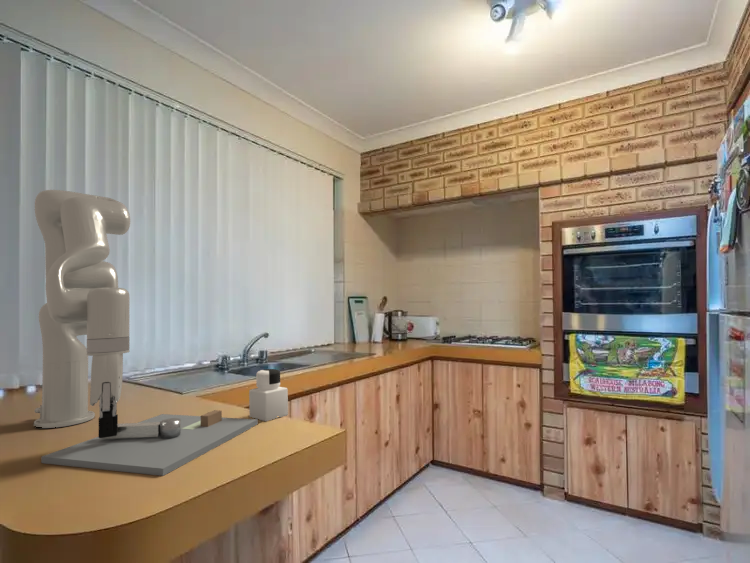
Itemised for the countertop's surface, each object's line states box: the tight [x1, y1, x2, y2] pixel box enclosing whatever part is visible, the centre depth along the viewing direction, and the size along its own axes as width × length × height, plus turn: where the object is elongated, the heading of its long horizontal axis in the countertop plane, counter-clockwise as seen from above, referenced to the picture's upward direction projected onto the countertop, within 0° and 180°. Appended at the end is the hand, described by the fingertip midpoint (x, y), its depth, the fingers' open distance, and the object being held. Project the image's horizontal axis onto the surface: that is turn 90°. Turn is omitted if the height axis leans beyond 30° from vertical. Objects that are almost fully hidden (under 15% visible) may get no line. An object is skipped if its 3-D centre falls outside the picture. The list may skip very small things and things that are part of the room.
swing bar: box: [100, 418, 181, 439], centre depth 88 cm, size 16×4×3 cm, turn 93°
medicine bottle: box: [248, 368, 289, 422], centre depth 106 cm, size 7×7×12 cm
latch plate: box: [40, 409, 259, 477], centre depth 89 cm, size 28×30×4 cm
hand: (108, 435), depth 85 cm, fingers closed
